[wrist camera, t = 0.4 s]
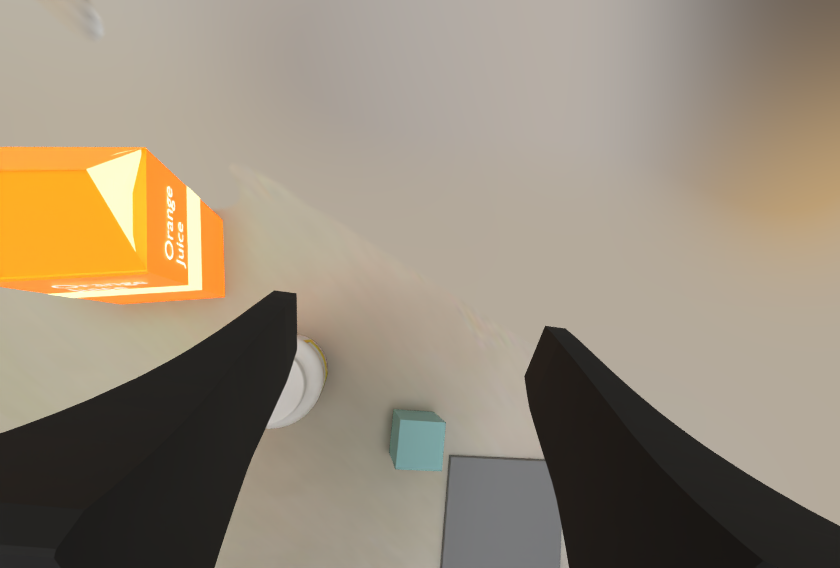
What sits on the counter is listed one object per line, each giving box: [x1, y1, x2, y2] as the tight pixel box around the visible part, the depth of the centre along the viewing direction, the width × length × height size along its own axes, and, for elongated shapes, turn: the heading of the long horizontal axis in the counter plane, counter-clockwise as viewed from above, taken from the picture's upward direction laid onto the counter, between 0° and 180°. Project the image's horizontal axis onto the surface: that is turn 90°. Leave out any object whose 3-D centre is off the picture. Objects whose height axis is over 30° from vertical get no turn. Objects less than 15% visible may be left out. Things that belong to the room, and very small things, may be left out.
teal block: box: [389, 409, 446, 471], centre depth 35 cm, size 4×4×5 cm
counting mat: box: [440, 455, 562, 568], centre depth 38 cm, size 12×12×1 cm
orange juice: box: [0, 147, 225, 304], centre depth 26 cm, size 8×9×20 cm
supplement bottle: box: [266, 334, 328, 429], centre depth 30 cm, size 7×7×13 cm
